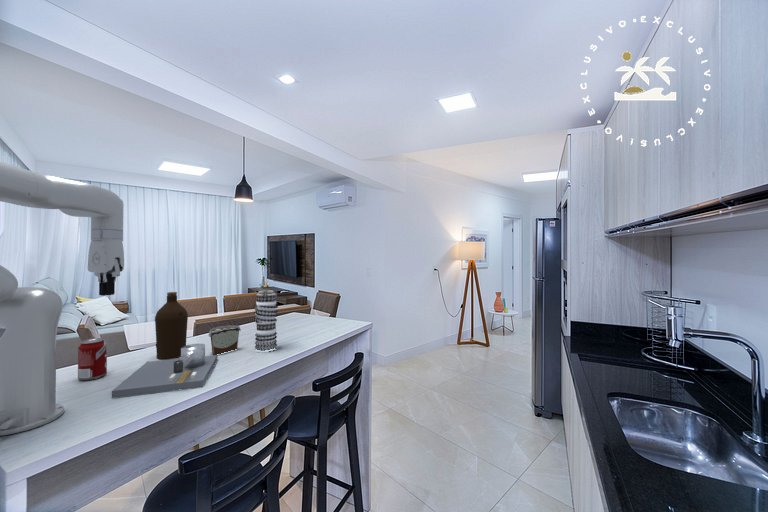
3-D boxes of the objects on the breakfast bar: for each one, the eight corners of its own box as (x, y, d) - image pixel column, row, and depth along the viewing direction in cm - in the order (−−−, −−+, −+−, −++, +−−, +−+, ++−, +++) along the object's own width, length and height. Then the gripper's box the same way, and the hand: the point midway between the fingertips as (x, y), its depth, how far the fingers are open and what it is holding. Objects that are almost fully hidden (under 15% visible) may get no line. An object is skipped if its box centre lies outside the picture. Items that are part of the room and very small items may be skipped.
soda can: (88, 382, 94) (89, 343, 94) (71, 380, 95) (72, 342, 95) (112, 374, 101) (112, 338, 101) (96, 372, 102) (96, 337, 102)
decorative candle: (282, 348, 130) (282, 289, 130) (265, 354, 122) (266, 292, 122) (266, 345, 134) (266, 288, 134) (249, 351, 126) (249, 291, 126)
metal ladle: (184, 361, 106) (184, 344, 106) (207, 359, 108) (207, 342, 109) (162, 384, 88) (163, 363, 88) (190, 381, 90) (190, 360, 90)
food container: (233, 346, 132) (233, 323, 132) (240, 349, 128) (240, 325, 128) (202, 354, 122) (202, 329, 122) (209, 357, 118) (210, 331, 118)
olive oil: (192, 350, 126) (192, 290, 126) (179, 359, 115) (180, 293, 116) (163, 352, 124) (164, 291, 124) (148, 361, 114) (149, 294, 114)
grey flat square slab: (202, 386, 91) (202, 376, 91) (111, 398, 84) (111, 387, 84) (217, 360, 115) (217, 352, 115) (147, 367, 107) (147, 358, 107)
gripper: (77, 235, 94) (77, 295, 94) (108, 234, 88) (107, 297, 88) (106, 237, 101) (106, 292, 101) (136, 236, 96) (136, 294, 95)
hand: (106, 294), depth 94 cm, fingers closed
